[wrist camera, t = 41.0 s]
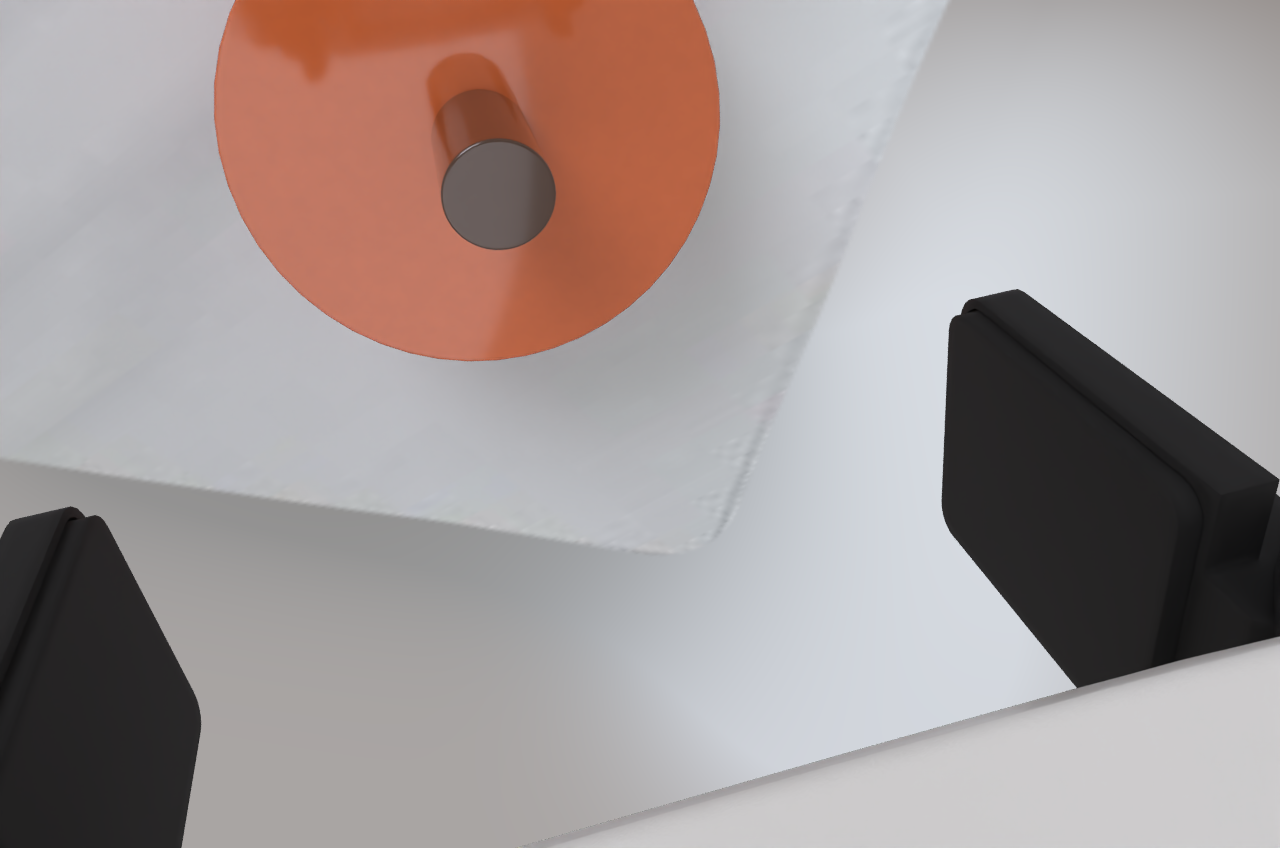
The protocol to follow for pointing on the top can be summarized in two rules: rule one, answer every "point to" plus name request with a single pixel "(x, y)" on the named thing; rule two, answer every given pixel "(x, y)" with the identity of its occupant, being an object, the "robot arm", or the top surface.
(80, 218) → the top surface
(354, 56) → the lid
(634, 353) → the top surface
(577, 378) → the top surface
